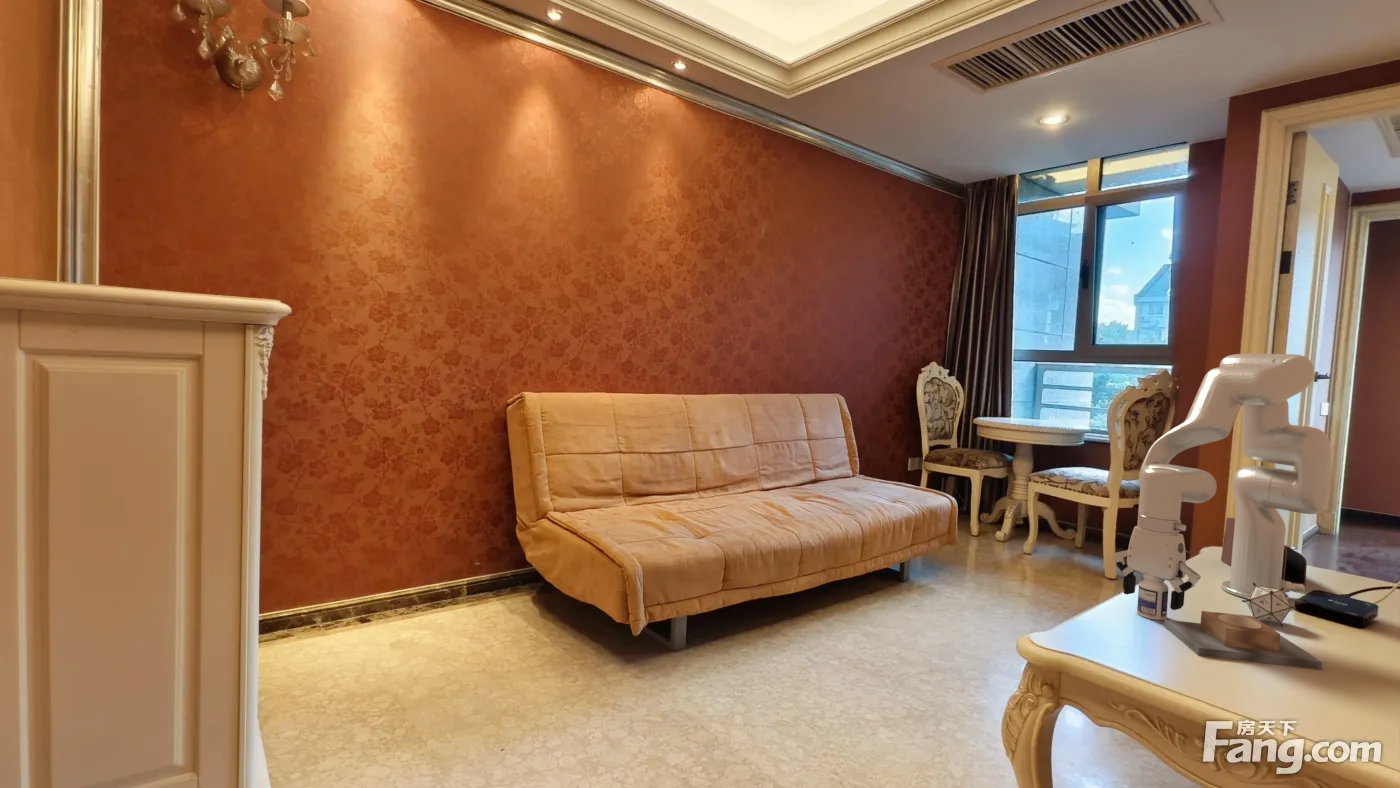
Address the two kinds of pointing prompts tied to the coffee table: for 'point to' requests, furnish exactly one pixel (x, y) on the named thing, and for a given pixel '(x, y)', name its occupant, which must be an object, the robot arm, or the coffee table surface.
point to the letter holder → (1292, 559)
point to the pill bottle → (1152, 598)
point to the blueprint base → (1240, 653)
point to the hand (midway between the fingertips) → (1151, 600)
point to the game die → (1268, 604)
